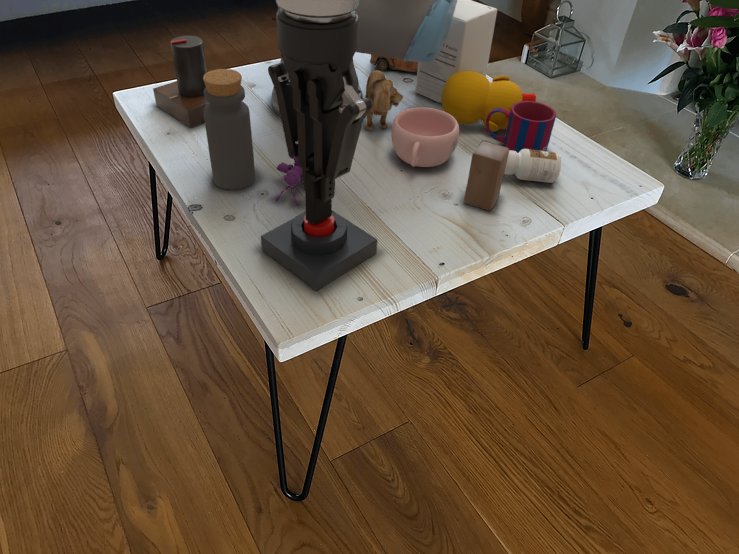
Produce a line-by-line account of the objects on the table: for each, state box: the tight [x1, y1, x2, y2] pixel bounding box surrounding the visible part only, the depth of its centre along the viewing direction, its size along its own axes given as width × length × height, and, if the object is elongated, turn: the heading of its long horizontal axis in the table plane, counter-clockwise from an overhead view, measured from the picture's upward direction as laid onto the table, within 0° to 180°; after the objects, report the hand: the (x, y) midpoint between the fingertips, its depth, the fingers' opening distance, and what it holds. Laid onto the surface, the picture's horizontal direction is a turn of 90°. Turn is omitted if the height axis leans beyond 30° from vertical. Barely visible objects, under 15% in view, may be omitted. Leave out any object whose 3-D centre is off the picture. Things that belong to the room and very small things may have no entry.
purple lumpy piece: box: [274, 142, 302, 205], centre depth 83 cm, size 7×6×8 cm
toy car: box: [369, 54, 418, 74], centre depth 114 cm, size 6×12×7 cm, turn 84°
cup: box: [485, 101, 557, 153], centre depth 93 cm, size 7×10×7 cm
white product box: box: [414, 0, 498, 105], centre depth 103 cm, size 9×9×15 cm
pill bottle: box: [504, 149, 562, 184], centre depth 87 cm, size 4×4×8 cm
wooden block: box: [463, 140, 509, 211], centre depth 82 cm, size 4×4×8 cm
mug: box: [390, 106, 460, 168], centre depth 89 cm, size 12×10×6 cm
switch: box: [304, 215, 334, 237], centre depth 72 cm, size 4×4×2 cm
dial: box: [169, 35, 208, 97], centre depth 95 cm, size 5×5×8 cm
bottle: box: [203, 68, 256, 191], centre depth 80 cm, size 6×6×15 cm
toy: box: [441, 70, 537, 133], centre depth 98 cm, size 9×9×15 cm
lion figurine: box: [364, 69, 404, 131], centre depth 98 cm, size 15×5×9 cm, turn 11°
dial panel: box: [152, 80, 209, 129], centre depth 99 cm, size 10×9×3 cm
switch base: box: [260, 210, 378, 292], centre depth 73 cm, size 10×10×4 cm
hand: (318, 217), depth 71 cm, fingers closed
